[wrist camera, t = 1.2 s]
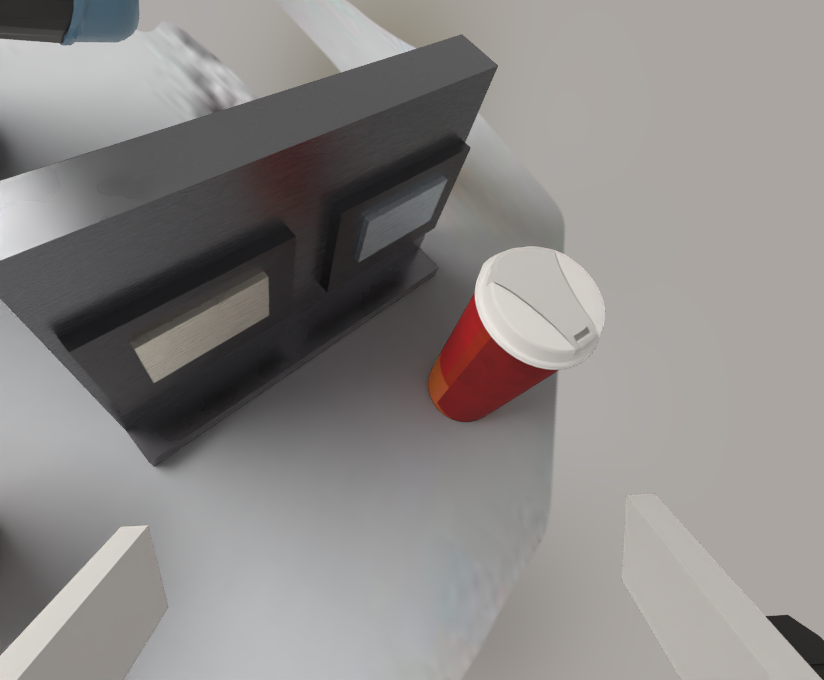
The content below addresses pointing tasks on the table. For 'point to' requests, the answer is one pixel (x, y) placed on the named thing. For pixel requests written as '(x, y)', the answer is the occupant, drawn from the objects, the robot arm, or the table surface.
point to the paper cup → (516, 331)
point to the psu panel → (238, 237)
